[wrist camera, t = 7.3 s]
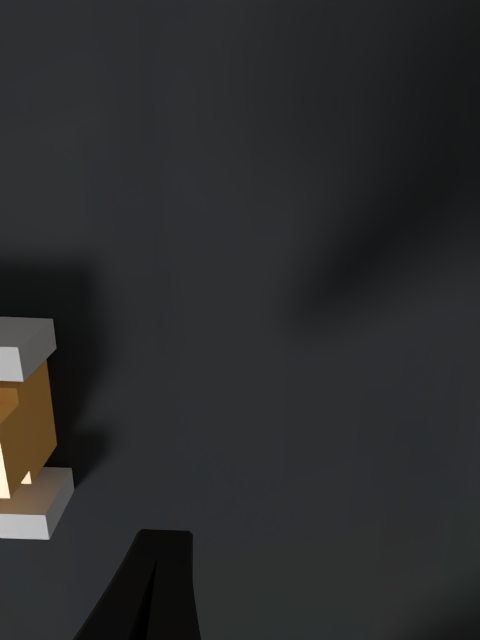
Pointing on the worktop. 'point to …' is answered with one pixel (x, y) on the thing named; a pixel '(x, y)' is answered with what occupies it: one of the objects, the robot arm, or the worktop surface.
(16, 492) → the pale green toy truck
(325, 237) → the worktop surface
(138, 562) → the robot arm
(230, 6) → the worktop surface
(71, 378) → the worktop surface
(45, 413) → the tan stepped block
